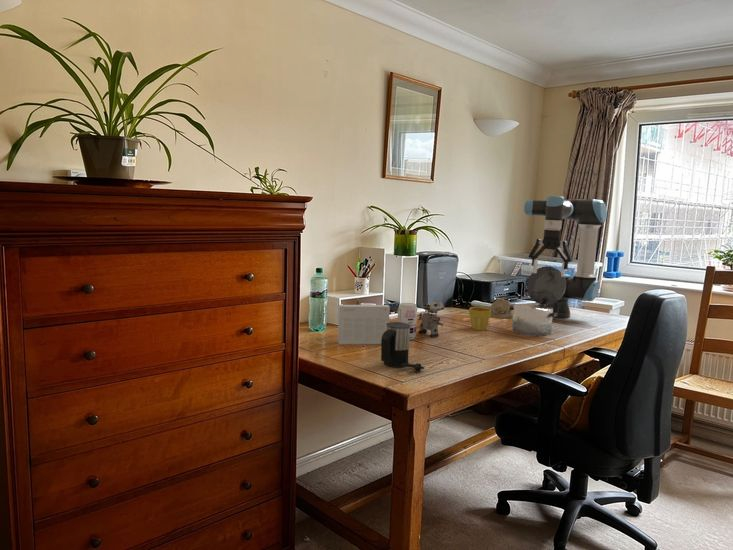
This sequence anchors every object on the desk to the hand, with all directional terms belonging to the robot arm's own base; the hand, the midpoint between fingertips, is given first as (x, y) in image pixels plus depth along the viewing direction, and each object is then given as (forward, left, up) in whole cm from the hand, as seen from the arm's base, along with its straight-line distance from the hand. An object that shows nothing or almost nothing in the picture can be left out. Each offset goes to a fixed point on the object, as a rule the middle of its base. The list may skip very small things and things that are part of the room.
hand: (548, 274), depth 261 cm
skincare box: (+81, -44, -28) cm, 96 cm away
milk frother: (+96, -12, -28) cm, 101 cm away
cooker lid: (-11, -5, -6) cm, 14 cm away
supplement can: (+60, -37, -28) cm, 76 cm away
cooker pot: (+1, -5, -28) cm, 29 cm away
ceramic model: (-21, -32, -28) cm, 48 cm away
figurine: (+46, -33, -28) cm, 63 cm away
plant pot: (+17, -25, -28) cm, 41 cm away
